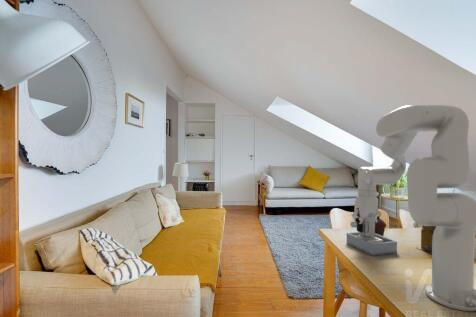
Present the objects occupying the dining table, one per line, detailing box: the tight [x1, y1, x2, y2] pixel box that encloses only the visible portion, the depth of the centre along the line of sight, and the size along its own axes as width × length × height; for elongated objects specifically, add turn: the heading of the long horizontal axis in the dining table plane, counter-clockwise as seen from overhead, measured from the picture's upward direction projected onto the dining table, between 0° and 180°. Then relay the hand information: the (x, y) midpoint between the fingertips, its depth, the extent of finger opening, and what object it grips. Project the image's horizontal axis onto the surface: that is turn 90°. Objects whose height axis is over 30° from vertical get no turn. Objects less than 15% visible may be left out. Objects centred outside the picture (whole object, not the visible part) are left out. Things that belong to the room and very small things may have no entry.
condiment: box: [416, 225, 436, 255], centre depth 113 cm, size 7×8×12 cm
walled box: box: [346, 231, 398, 257], centre depth 116 cm, size 16×13×5 cm
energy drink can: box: [360, 214, 375, 241], centre depth 118 cm, size 6×6×15 cm
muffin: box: [375, 217, 387, 237], centre depth 132 cm, size 12×11×10 cm
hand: (366, 230), depth 118 cm, fingers open, 7 cm apart
